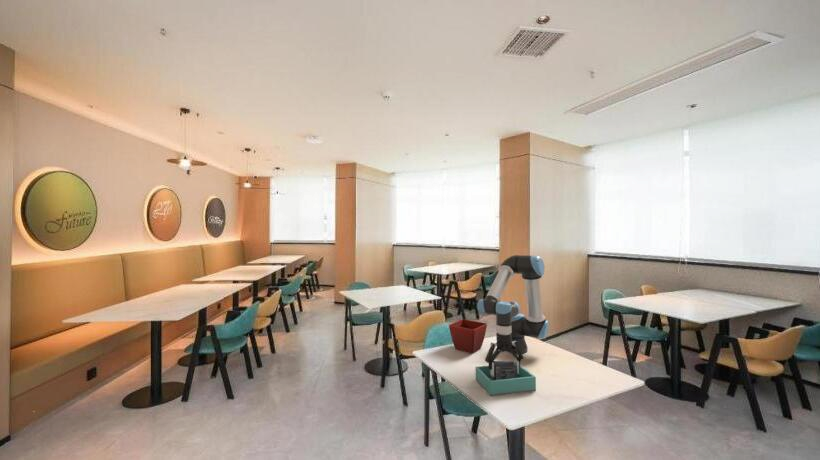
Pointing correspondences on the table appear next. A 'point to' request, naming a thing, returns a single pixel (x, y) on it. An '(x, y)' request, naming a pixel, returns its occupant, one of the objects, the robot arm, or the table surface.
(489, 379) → the bin
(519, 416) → the table surface
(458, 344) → the plant pot
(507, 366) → the small box
